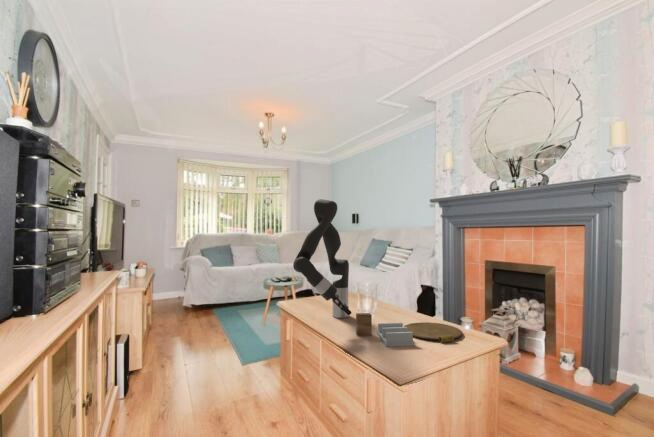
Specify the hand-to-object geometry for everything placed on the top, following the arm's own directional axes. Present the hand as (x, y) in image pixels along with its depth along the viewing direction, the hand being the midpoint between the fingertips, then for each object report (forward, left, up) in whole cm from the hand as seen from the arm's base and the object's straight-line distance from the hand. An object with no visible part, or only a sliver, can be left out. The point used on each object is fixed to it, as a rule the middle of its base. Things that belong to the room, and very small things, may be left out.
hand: (348, 311), depth 153 cm
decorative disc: (0, +42, -12) cm, 44 cm away
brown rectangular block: (0, +7, -11) cm, 14 cm away
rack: (+8, +20, -11) cm, 25 cm away
